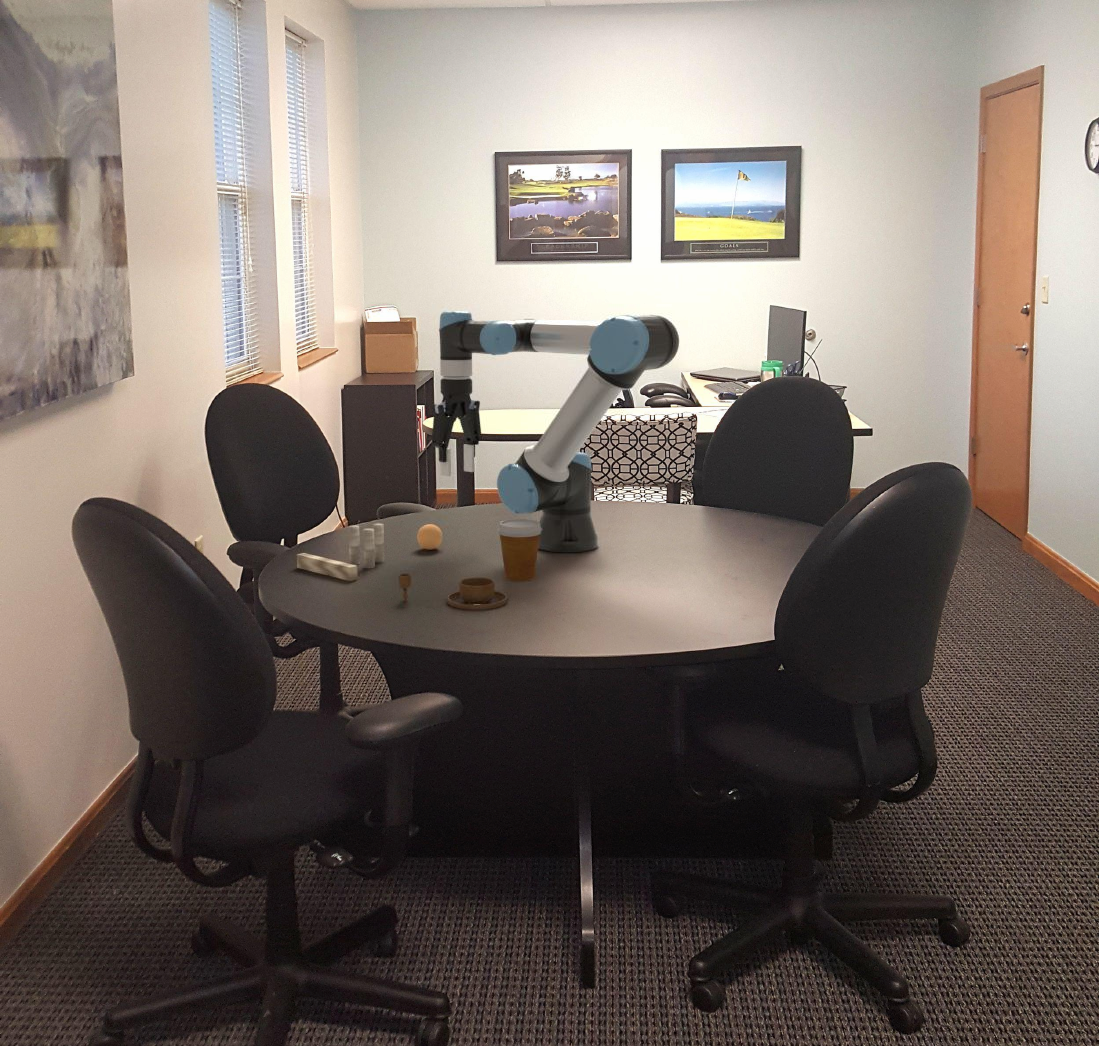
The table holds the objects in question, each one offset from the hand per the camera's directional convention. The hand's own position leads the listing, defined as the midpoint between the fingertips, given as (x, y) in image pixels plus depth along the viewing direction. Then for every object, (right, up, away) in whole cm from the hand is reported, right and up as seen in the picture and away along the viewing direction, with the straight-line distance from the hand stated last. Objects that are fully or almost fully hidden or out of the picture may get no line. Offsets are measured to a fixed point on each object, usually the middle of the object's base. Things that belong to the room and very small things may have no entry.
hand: (457, 473), depth 285 cm
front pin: (-17, -21, -16) cm, 31 cm away
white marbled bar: (-26, -23, -27) cm, 44 cm away
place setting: (+4, -28, -47) cm, 54 cm away
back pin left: (-18, -22, -21) cm, 35 cm away
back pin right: (-22, -21, -18) cm, 35 cm away
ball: (-6, -15, -4) cm, 17 cm away
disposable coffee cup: (+16, -24, -30) cm, 41 cm away
